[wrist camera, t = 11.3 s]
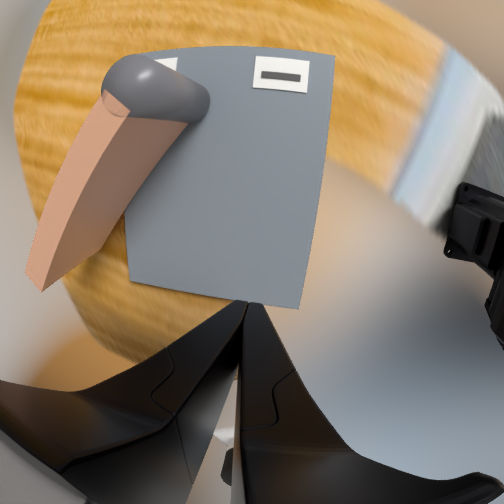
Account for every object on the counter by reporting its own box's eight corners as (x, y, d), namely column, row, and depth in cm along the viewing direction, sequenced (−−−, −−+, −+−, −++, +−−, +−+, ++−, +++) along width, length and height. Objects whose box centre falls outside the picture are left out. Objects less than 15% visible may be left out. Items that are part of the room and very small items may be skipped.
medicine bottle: (223, 381, 28) (196, 474, 17) (281, 363, 26) (271, 471, 15) (256, 414, 30) (241, 498, 19) (310, 401, 28) (308, 493, 17)
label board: (333, 59, 16) (335, 55, 14) (298, 302, 23) (298, 310, 22) (139, 57, 17) (131, 54, 16) (135, 275, 25) (128, 281, 23)
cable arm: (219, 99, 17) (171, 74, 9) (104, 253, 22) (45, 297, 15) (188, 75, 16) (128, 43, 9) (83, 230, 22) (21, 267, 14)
